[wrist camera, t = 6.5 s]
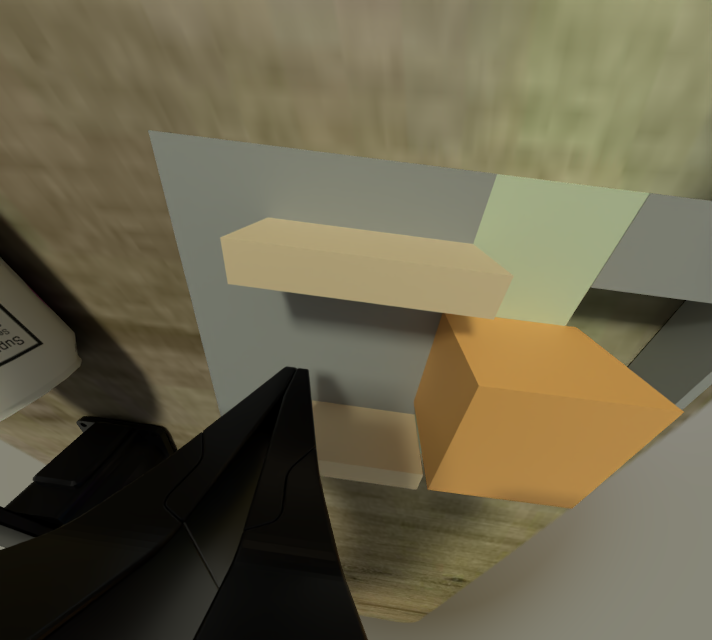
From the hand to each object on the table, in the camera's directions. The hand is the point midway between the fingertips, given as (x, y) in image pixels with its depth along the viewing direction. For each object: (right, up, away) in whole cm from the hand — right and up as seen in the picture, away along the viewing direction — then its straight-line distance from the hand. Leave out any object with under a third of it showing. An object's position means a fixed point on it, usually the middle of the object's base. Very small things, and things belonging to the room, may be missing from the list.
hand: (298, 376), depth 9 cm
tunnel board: (+6, +2, +4) cm, 8 cm away
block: (+8, 0, +2) cm, 8 cm away
